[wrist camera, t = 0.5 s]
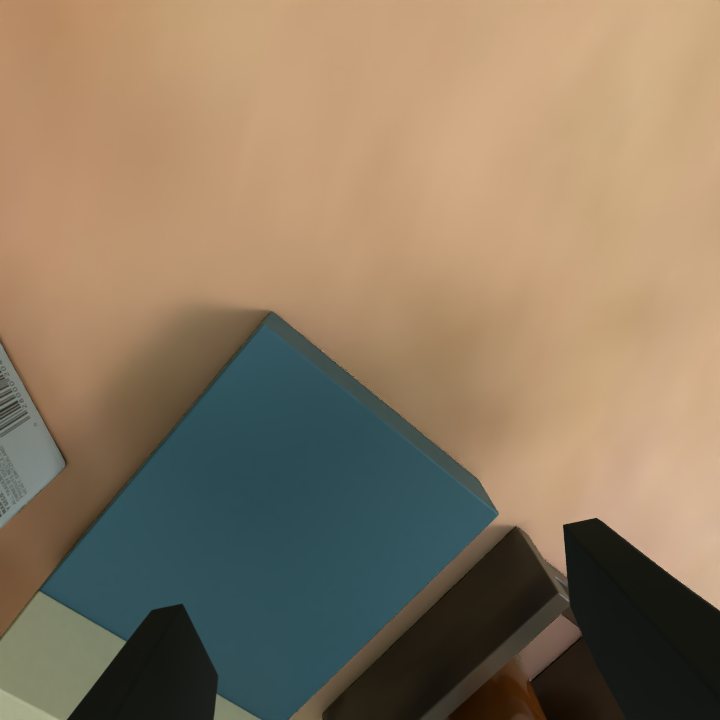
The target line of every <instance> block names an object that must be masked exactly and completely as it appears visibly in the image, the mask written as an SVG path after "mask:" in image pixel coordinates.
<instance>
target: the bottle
mask: <svg viewBox="0 0 720 720" xmlns="http://www.w3.org/2000/svg"><path fill="white" fill-rule="evenodd" d="M444 720H547V719H546V716H545V714H544V712H543V710H542V707H541V705H540V703H539V701H538V699H537V696H536V694H535V692H534V690H533V687H532V685H531V683H530V681H529V678H528V676H527V674H526V672H525V669H524V667H523V665H522V663H521V661H520V658H519V656H518V654H516V655H515V656H514V657H513V658H512V659H511V660H510V661H509V662H507V663H506V664H505V665H504V666H503V667H502V668H501V669H500V670H499V671H497V672H496V673H495V674H494V675H493V676H492V677H491V678H490V679H489V680H488V681H486V682H485V683H484V684H483V685H482V686H481V687H480V688H479V689H478V690H476V691H475V692H474V693H473V694H472V695H471V696H470V697H469V698H468V699H467V700H465V701H464V702H463V703H462V704H461V705H460V706H459V707H458V708H457V709H455V710H454V711H453V712H452V713H451V714H450V715H449V716H448V717H447V718H446V719H444Z"/></svg>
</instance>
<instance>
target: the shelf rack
mask: <svg viewBox="0 0 720 720" xmlns="http://www.w3.org/2000/svg"><path fill="white" fill-rule="evenodd" d="M560 614H562V615H563V616H565V617H566V618H567V619H569V620H570V621H571V622H572V623H574V624H575V625H576V626H578V624H577V621H576V619H575V617H574V614H573V612H572V610H571V607H570V603H569V591H568V579H567V578H566V577H565V576H564V575H562V574H561V573H560V572H559V571H558V570H556V569H555V568H554V567H553V566H551V565H550V564H549V563H548V562H546V561H545V560H544V559H543V557H542V556H541V554H540V553H539V551H538V549H537V548H536V546H535V545H534V543H533V542H532V540H531V539H530V537H529V536H528V535H527V534H526V533H525V532H523V531H522V530H521V529H520V528H518V527H516V528H515V529H514V530H513V531H512V532H511V533H510V534H508V535H507V536H506V537H505V538H504V539H503V540H502V541H501V542H500V543H499V544H498V545H497V546H496V547H495V548H494V549H493V550H492V551H491V552H490V553H489V554H488V555H487V556H486V557H485V558H484V559H483V560H481V561H480V562H479V563H478V564H477V565H476V566H475V567H474V568H473V569H472V570H471V571H470V572H469V573H468V574H467V575H466V576H465V577H464V578H463V579H462V580H461V581H460V582H459V583H458V584H457V585H456V586H454V587H453V588H452V589H451V590H450V591H449V592H448V593H447V594H446V595H445V596H444V597H443V598H442V599H441V600H440V601H439V602H438V603H437V604H436V605H435V606H434V607H433V608H432V609H431V610H430V611H428V612H427V613H426V614H425V615H424V616H423V617H422V618H421V619H420V620H419V621H418V622H417V623H416V624H415V625H414V626H413V627H412V628H411V629H410V630H409V631H408V632H407V633H406V634H405V635H404V636H403V637H401V638H400V639H399V640H398V641H397V642H396V643H395V644H394V645H393V646H392V647H391V648H390V649H389V650H388V651H387V652H386V653H385V654H384V655H383V656H382V657H381V658H380V659H379V660H378V661H377V662H375V663H374V664H373V665H372V666H371V667H370V668H369V669H368V670H367V671H366V672H365V673H364V674H363V675H362V676H361V677H360V678H359V679H358V680H357V681H356V682H355V683H354V684H353V685H352V686H351V687H350V688H348V689H347V690H346V691H345V692H344V693H343V694H342V695H341V696H340V697H339V698H338V699H337V700H336V701H335V702H334V703H333V704H332V705H331V706H330V707H328V709H327V710H326V711H325V712H324V713H323V714H322V720H444V719H446V718H447V717H448V716H449V715H450V714H451V713H452V712H453V711H454V710H455V709H457V708H458V707H459V706H460V705H461V704H462V703H463V702H464V701H465V700H467V699H468V698H469V697H470V696H471V695H472V694H473V693H474V692H475V691H476V690H478V689H479V688H480V687H481V686H482V685H483V684H484V683H485V682H486V681H488V680H489V679H490V678H491V677H492V676H493V675H494V674H495V673H496V672H497V671H499V670H500V669H501V668H502V667H503V666H504V665H505V664H506V663H507V662H509V661H510V660H511V659H512V658H513V657H514V656H515V655H516V654H517V653H518V652H520V651H521V650H522V649H523V648H524V647H525V646H526V645H527V644H528V643H529V642H531V641H532V640H533V639H534V638H535V637H536V636H537V635H538V634H539V633H541V632H542V631H543V630H544V629H545V628H546V627H547V626H548V625H549V624H550V623H552V622H553V621H554V620H555V619H556V618H557V617H558V616H559V615H560ZM578 627H579V626H578ZM531 685H532V687H533V690H534V692H535V694H536V696H537V699H538V701H539V703H540V705H541V707H542V710H543V712H544V714H545V716H546V719H547V720H627V719H626V718H625V716H624V714H623V712H622V711H621V709H620V707H619V705H618V703H617V702H616V700H615V698H614V696H613V695H612V693H611V691H610V689H609V687H608V686H607V684H606V682H605V680H604V679H603V677H602V675H601V673H600V671H599V669H598V668H597V666H596V664H595V662H594V659H593V657H592V655H591V653H590V651H589V648H588V646H587V644H586V642H585V640H584V637H582V638H581V639H580V640H579V641H578V642H577V643H575V644H574V645H573V646H572V647H571V648H570V649H569V650H567V651H566V652H565V653H564V654H563V655H562V656H561V657H560V658H558V659H557V660H556V661H555V662H554V663H553V664H552V665H551V666H549V667H548V668H547V669H546V670H545V671H544V672H543V673H542V674H540V675H539V676H538V677H537V678H536V679H535V680H534V681H533V682H531Z"/></svg>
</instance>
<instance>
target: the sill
mask: <svg viewBox="0 0 720 720" xmlns="http://www.w3.org/2000/svg"><path fill="white" fill-rule="evenodd" d="M498 514H499V513H498V511H497V510H496V508H495V506H494V505H493V503H492V501H491V500H490V498H489V496H488V495H487V493H486V491H485V490H484V488H483V486H482V485H481V483H480V481H479V480H478V479H477V478H475V477H474V476H473V475H472V474H470V473H469V472H468V471H467V470H466V469H464V468H463V467H462V466H461V465H459V464H458V463H457V462H456V461H455V460H453V459H452V458H451V457H450V456H449V455H447V454H446V453H445V452H444V451H442V450H441V449H440V448H439V447H438V446H436V445H435V444H434V443H433V442H431V441H430V440H429V439H428V438H427V437H425V436H424V435H423V434H422V433H420V432H419V431H418V430H417V429H416V428H414V427H413V426H412V425H411V424H410V423H408V422H407V421H406V420H405V419H403V418H402V417H401V416H400V415H399V414H397V413H396V412H395V411H394V410H392V409H391V408H390V407H389V406H388V405H386V404H385V403H384V402H383V401H381V400H380V399H379V398H378V397H377V396H375V395H374V394H373V393H372V392H370V391H369V390H368V389H367V388H366V387H364V386H363V385H362V384H361V383H360V382H358V381H357V380H356V379H355V378H353V377H352V376H351V375H350V374H349V373H347V372H346V371H345V370H344V369H342V368H341V367H340V366H339V365H338V364H336V363H335V362H334V361H333V360H331V359H330V358H329V357H328V356H327V355H325V354H324V353H323V352H322V351H321V350H319V349H318V348H317V347H316V346H314V345H313V344H312V343H311V342H310V341H308V340H307V339H306V338H305V337H303V336H302V335H301V334H300V333H299V332H297V331H296V330H295V329H294V328H292V327H291V326H290V325H289V324H288V323H286V322H285V321H284V320H283V319H281V318H280V317H279V316H278V315H277V314H275V313H274V312H270V313H269V314H268V315H267V317H266V318H265V319H264V320H263V321H262V323H261V324H260V325H259V326H258V327H257V329H256V330H255V331H254V332H253V333H252V334H251V336H250V337H249V338H248V339H247V340H246V342H245V343H244V344H243V345H242V346H241V348H240V349H239V350H238V351H237V352H236V353H235V355H234V356H233V357H232V358H231V359H230V361H229V362H228V363H227V364H226V365H225V367H224V368H223V369H222V370H221V371H220V373H219V374H218V375H217V376H216V377H215V378H214V380H213V381H212V382H211V383H210V384H209V386H208V387H207V388H206V389H205V390H204V392H203V393H202V394H201V395H200V396H199V397H198V399H197V400H196V401H195V402H194V403H193V405H192V406H191V407H190V408H189V409H188V411H187V412H186V413H185V414H184V415H183V417H182V418H181V419H180V420H179V421H178V422H177V424H176V425H175V426H174V427H173V428H172V430H171V431H170V432H169V433H168V434H167V436H166V437H165V438H164V439H163V440H162V441H161V443H160V444H159V445H158V446H157V447H156V449H155V450H154V451H153V452H152V453H151V455H150V456H149V457H148V458H147V459H146V461H145V462H144V463H143V464H142V465H141V466H140V468H139V469H138V470H137V471H136V472H135V474H134V475H133V476H132V477H131V478H130V480H129V481H128V482H127V483H126V484H125V485H124V487H123V488H122V489H121V490H120V491H119V493H118V494H117V495H116V496H115V497H114V499H113V500H112V501H111V502H110V503H109V505H108V506H107V507H106V508H105V509H104V510H103V512H102V513H101V514H100V515H99V516H98V518H97V519H96V520H95V521H94V522H93V524H92V525H91V526H90V527H89V528H88V529H87V531H86V532H85V533H84V534H83V535H82V537H81V538H80V539H79V540H78V541H77V543H76V544H75V545H74V546H73V547H72V549H71V550H70V551H69V552H68V553H67V554H66V556H65V557H64V558H63V559H62V560H61V562H60V563H59V564H58V565H57V566H56V568H55V569H54V570H53V571H52V573H51V574H50V575H49V577H48V578H47V579H46V580H45V582H44V583H43V584H42V585H41V587H40V588H39V589H38V590H37V592H36V593H35V594H34V595H33V597H32V598H31V599H30V600H29V602H28V603H27V604H26V606H25V607H24V608H23V609H22V611H21V612H20V613H19V614H18V616H17V617H16V618H15V619H14V621H13V622H12V623H11V624H10V626H9V627H8V628H7V630H6V631H5V632H4V633H3V635H2V636H1V637H0V720H67V719H68V717H69V716H70V715H71V713H72V712H73V711H74V710H75V708H76V707H77V706H78V704H79V703H80V702H81V701H82V699H83V698H84V697H85V695H86V694H87V693H88V692H89V690H90V689H91V688H92V686H93V685H94V684H95V683H96V681H97V680H98V679H99V677H100V676H101V675H102V673H103V672H104V671H105V670H106V668H107V667H108V666H109V664H110V663H111V662H112V660H113V659H114V658H115V656H116V655H117V654H118V652H119V651H120V650H121V649H122V647H123V646H124V645H125V643H126V642H127V641H128V639H129V638H130V637H131V636H132V634H133V633H134V632H135V630H136V629H137V628H138V626H139V625H140V624H141V623H142V621H143V620H144V619H145V618H146V616H147V615H148V614H149V613H150V612H151V610H154V609H158V608H163V607H168V606H173V605H178V604H183V605H184V607H185V609H186V611H187V613H188V615H189V617H190V619H191V621H192V623H193V625H194V627H195V629H196V631H197V633H198V635H199V637H200V639H201V641H202V643H203V645H204V648H205V650H206V652H207V654H208V656H209V658H210V660H211V662H212V664H213V666H214V668H215V670H216V672H217V674H218V685H217V695H216V704H215V713H214V720H289V719H290V718H291V717H292V716H293V715H294V714H295V713H296V712H297V711H298V710H299V709H300V708H301V707H302V706H303V705H304V704H305V703H306V702H307V701H308V700H309V699H310V698H311V697H312V696H313V695H314V694H315V693H316V692H317V691H318V690H319V689H320V688H321V687H322V686H324V685H325V684H326V683H327V682H328V681H329V680H330V679H331V678H332V677H333V676H334V675H335V674H336V673H337V672H338V671H339V670H340V669H341V668H342V667H343V666H344V665H345V664H346V663H347V662H348V661H349V660H350V659H351V658H352V657H353V656H354V655H355V654H356V653H357V652H358V651H359V650H360V649H361V648H362V647H363V646H365V645H366V644H367V643H368V642H369V641H370V640H371V639H372V638H373V637H374V636H375V635H376V634H377V633H378V632H379V631H380V630H381V629H382V628H383V627H384V626H385V625H386V624H387V623H388V622H389V621H390V620H391V619H392V618H393V617H394V616H395V615H396V614H397V613H398V612H399V611H400V610H401V609H402V608H403V607H404V606H406V605H407V604H408V603H409V602H410V601H411V600H412V599H413V598H414V597H415V596H416V595H417V594H418V593H419V592H420V591H421V590H422V589H423V588H424V587H425V586H426V585H427V584H428V583H429V582H430V581H431V580H432V579H433V578H434V577H435V576H436V575H437V574H438V573H439V572H440V571H441V570H442V569H443V568H444V567H445V566H447V565H448V564H449V563H450V562H451V561H452V560H453V559H454V558H455V557H456V556H457V555H458V554H459V553H460V552H461V551H462V550H463V549H464V548H465V547H466V546H467V545H468V544H469V543H470V542H471V541H472V540H473V539H474V538H475V537H476V536H477V535H478V534H479V533H480V532H481V531H482V530H483V529H484V528H485V527H487V526H488V525H489V524H490V523H491V522H492V521H493V520H494V519H495V518H496V517H497V516H498Z"/></svg>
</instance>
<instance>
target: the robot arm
mask: <svg viewBox="0 0 720 720" xmlns="http://www.w3.org/2000/svg"><path fill="white" fill-rule="evenodd" d="M563 529H564V542H565V554H566V566H567V578H568V591H569V603H570V607H571V610H572V612H573V614H574V617H575V619H576V621H577V624H578V626H579V628H580V631H581V633H582V635H583V637H584V640H585V642H586V644H587V646H588V648H589V651H590V653H591V655H592V657H593V659H594V662H595V664H596V666H597V668H598V669H599V671H600V673H601V675H602V677H603V679H604V680H605V682H606V684H607V686H608V687H609V689H610V691H611V693H612V695H613V696H614V698H615V700H616V702H617V703H618V705H619V707H620V709H621V711H622V712H623V714H624V716H625V718H626V719H627V720H720V611H719V610H718V609H717V608H715V607H714V606H713V605H711V604H710V603H708V602H707V601H706V600H704V599H703V598H701V597H700V596H699V595H697V594H696V593H694V592H693V591H692V590H690V589H689V588H688V587H686V586H685V585H684V584H682V583H681V582H680V581H678V580H677V579H675V578H674V577H673V576H671V575H670V574H669V573H668V572H666V571H665V570H664V569H662V568H661V567H660V566H658V565H657V564H656V563H654V562H653V561H652V560H651V559H649V558H648V557H647V556H645V555H644V554H643V553H642V552H640V551H639V550H638V549H636V548H635V547H634V546H633V545H631V544H630V543H629V542H627V541H626V540H625V539H624V538H622V537H621V536H620V535H619V534H617V533H616V532H615V531H614V530H612V529H611V528H610V527H609V526H607V525H606V524H605V523H603V522H602V521H601V520H599V519H597V518H594V519H589V520H584V521H580V522H575V523H570V524H565V525H563ZM217 685H218V674H217V672H216V670H215V668H214V666H213V664H212V662H211V660H210V658H209V656H208V654H207V652H206V650H205V648H204V645H203V643H202V641H201V639H200V637H199V635H198V633H197V631H196V629H195V627H194V625H193V623H192V621H191V619H190V617H189V615H188V613H187V611H186V609H185V607H184V605H183V604H178V605H173V606H168V607H163V608H158V609H154V610H151V612H150V613H149V614H148V615H147V616H146V618H145V619H144V620H143V621H142V623H141V624H140V625H139V626H138V628H137V629H136V630H135V632H134V633H133V634H132V636H131V637H130V638H129V639H128V641H127V642H126V643H125V645H124V646H123V647H122V649H121V650H120V651H119V652H118V654H117V655H116V656H115V658H114V659H113V660H112V662H111V663H110V664H109V666H108V667H107V668H106V670H105V671H104V672H103V673H102V675H101V676H100V677H99V679H98V680H97V681H96V683H95V684H94V685H93V686H92V688H91V689H90V690H89V692H88V693H87V694H86V695H85V697H84V698H83V699H82V701H81V702H80V703H79V704H78V706H77V707H76V708H75V710H74V711H73V712H72V713H71V715H70V716H69V717H68V719H67V720H214V713H215V704H216V695H217Z"/></svg>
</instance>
